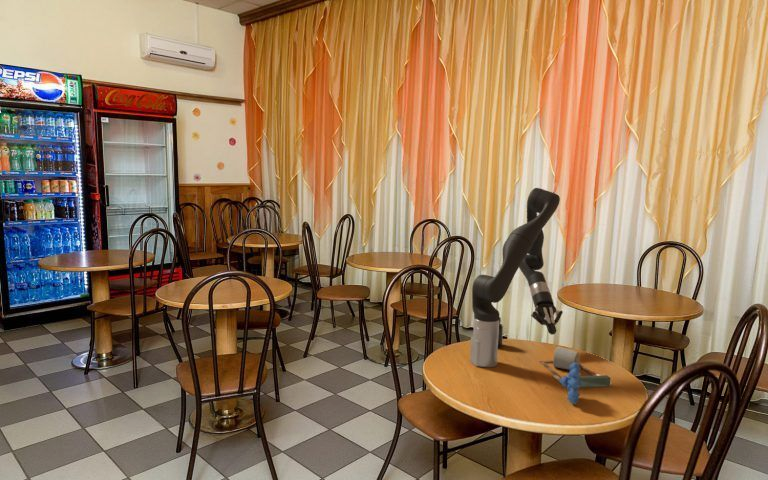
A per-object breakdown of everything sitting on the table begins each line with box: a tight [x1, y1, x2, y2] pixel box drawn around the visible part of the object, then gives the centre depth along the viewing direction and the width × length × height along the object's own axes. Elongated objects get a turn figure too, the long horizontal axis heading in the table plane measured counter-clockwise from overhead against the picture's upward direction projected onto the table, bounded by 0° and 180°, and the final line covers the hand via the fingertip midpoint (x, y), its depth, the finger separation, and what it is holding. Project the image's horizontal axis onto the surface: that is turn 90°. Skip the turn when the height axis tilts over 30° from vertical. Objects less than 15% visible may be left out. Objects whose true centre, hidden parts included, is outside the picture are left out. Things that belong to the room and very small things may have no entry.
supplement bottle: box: [498, 316, 504, 349], centre depth 203 cm, size 7×7×12 cm
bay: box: [539, 360, 613, 388], centre depth 175 cm, size 23×17×3 cm
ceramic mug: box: [552, 346, 581, 371], centre depth 181 cm, size 11×8×8 cm
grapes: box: [558, 362, 582, 405], centre depth 153 cm, size 12×7×12 cm, turn 160°
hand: (553, 333), depth 191 cm, fingers closed
